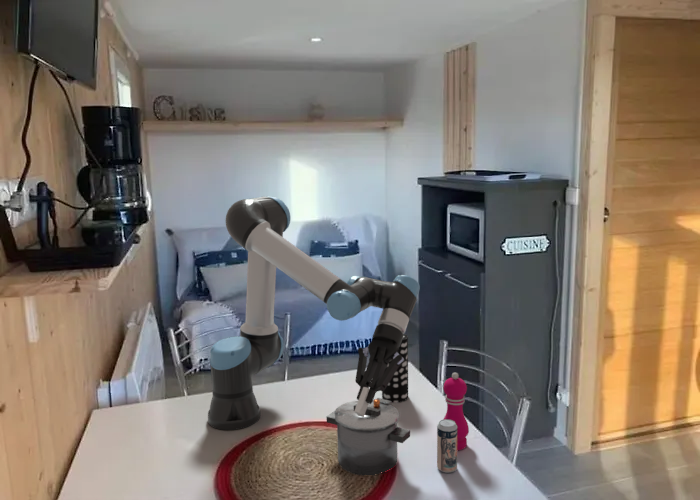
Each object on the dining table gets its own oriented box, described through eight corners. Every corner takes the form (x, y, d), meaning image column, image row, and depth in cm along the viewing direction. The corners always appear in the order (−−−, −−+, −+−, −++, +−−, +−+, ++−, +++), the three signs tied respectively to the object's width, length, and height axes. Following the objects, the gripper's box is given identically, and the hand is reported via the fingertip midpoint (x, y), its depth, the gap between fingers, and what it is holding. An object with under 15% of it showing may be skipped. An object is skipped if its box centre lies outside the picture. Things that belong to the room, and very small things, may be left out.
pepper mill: (468, 452, 148) (469, 378, 145) (440, 450, 150) (440, 377, 146) (468, 439, 155) (469, 368, 152) (441, 437, 157) (441, 367, 153)
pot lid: (322, 420, 142) (322, 409, 141) (358, 399, 156) (358, 389, 156) (378, 436, 133) (378, 424, 133) (411, 412, 147) (411, 401, 147)
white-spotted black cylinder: (409, 402, 179) (409, 340, 176) (382, 402, 179) (381, 341, 176) (407, 391, 187) (406, 332, 184) (381, 392, 187) (380, 332, 184)
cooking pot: (315, 461, 146) (313, 420, 144) (347, 436, 158) (346, 398, 156) (391, 486, 134) (391, 442, 132) (420, 457, 146) (419, 416, 145)
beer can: (444, 476, 138) (444, 429, 136) (433, 466, 142) (433, 420, 140) (460, 471, 140) (461, 424, 138) (450, 462, 144) (450, 416, 142)
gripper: (417, 340, 150) (388, 426, 139) (374, 333, 157) (342, 414, 146) (408, 325, 145) (376, 413, 134) (363, 319, 152) (330, 402, 141)
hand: (359, 414), depth 140 cm, fingers closed
